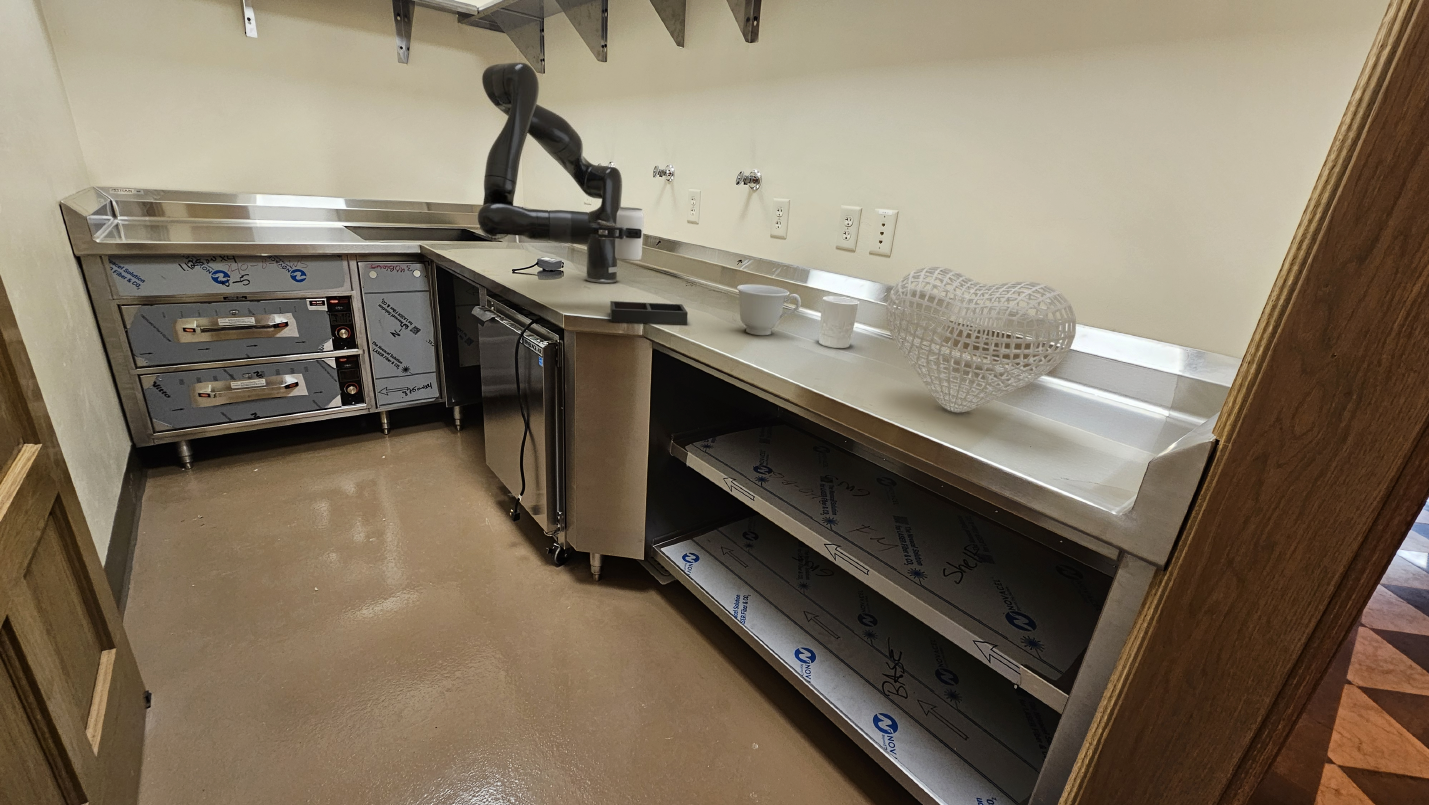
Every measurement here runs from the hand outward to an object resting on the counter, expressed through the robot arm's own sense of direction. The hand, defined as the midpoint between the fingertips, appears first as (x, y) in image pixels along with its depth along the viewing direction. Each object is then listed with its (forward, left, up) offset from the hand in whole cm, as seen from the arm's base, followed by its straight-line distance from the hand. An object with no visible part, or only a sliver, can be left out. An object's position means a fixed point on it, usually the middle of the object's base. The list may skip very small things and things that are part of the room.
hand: (638, 232), depth 148 cm
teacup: (+22, +28, -19) cm, 40 cm away
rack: (+12, +2, -19) cm, 22 cm away
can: (0, -2, -7) cm, 7 cm away
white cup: (+30, +42, -19) cm, 55 cm away
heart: (+70, +47, -19) cm, 87 cm away
